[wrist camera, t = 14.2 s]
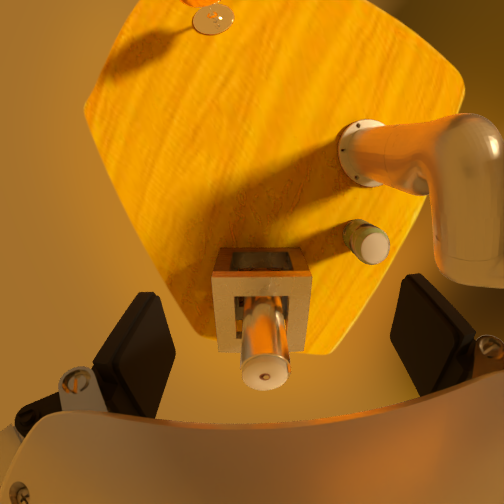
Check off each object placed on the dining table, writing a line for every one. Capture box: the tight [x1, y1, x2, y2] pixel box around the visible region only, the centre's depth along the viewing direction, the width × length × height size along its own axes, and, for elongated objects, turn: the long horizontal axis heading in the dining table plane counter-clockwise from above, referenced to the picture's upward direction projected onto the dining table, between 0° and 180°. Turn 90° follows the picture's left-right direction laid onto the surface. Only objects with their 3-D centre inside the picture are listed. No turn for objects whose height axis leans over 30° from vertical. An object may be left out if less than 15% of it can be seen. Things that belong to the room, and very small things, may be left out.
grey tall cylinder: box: [240, 268, 291, 390], centre depth 42 cm, size 6×6×25 cm
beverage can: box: [343, 219, 390, 265], centre depth 44 cm, size 6×7×12 cm
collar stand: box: [211, 248, 312, 353], centre depth 48 cm, size 15×15×12 cm
